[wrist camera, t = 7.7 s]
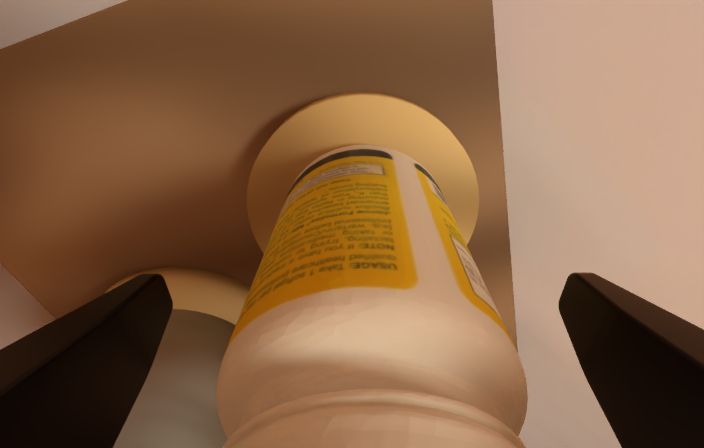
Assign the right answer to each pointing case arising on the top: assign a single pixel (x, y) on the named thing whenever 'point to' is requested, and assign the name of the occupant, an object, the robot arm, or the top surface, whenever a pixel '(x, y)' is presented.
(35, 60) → the board
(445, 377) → the supplement bottle
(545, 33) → the top surface
